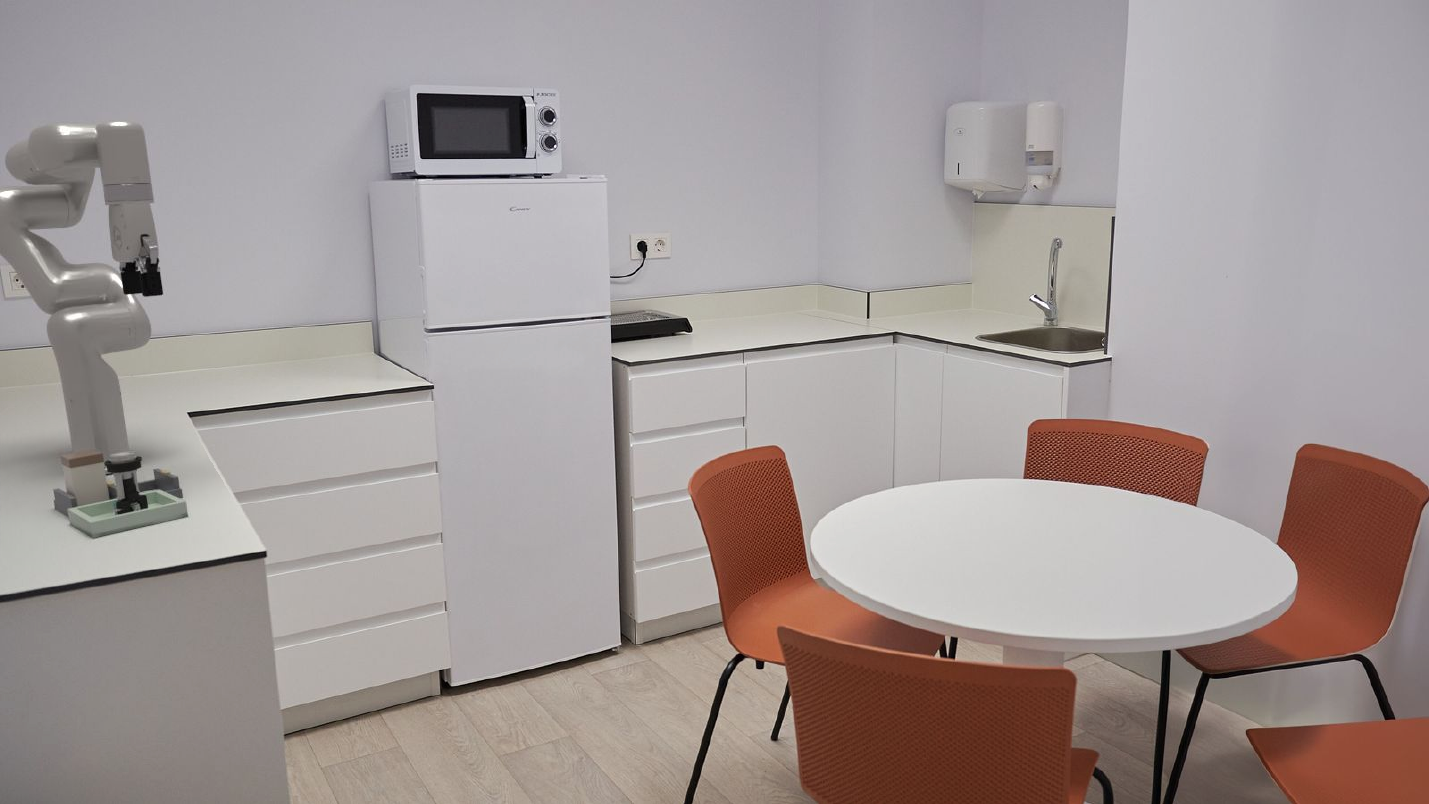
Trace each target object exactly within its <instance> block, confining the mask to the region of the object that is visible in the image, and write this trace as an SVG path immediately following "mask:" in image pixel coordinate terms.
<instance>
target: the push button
mask: <svg viewBox="0 0 1429 804" xmlns="http://www.w3.org/2000/svg"><path fill="white" fill-rule="evenodd" d="M142 461H143V457H142V456H139V455H136V452H135V451H130V452H120V453H115V454H112V455H110V460H108V461H106V462H104V464H105V466H107V471H108V472H110V473H111V474H112V475H113V477H114V484H115V485H116V490H117V499H118V501H115V502H114V503H113V505H114V510H113V511H114V512H115V515H120V514H124V513H129V512H133V511H138V510H142V509H147V508H148V503H147V496H146V495H139V494H140V493H141V492H140V491H139V487H138V482H139V481H138V476H137V475H138V474H137V472H138V470H139V469H140V468H142ZM113 511H110V512H109V513H113ZM115 515H114V516H115Z"/></svg>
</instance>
